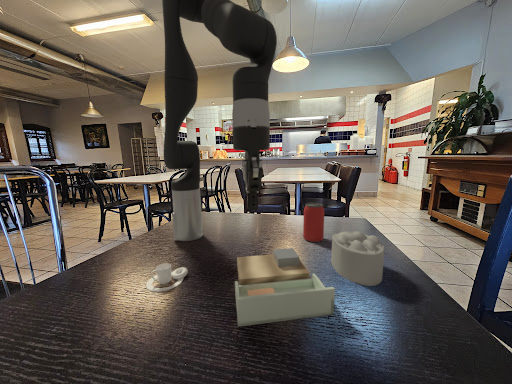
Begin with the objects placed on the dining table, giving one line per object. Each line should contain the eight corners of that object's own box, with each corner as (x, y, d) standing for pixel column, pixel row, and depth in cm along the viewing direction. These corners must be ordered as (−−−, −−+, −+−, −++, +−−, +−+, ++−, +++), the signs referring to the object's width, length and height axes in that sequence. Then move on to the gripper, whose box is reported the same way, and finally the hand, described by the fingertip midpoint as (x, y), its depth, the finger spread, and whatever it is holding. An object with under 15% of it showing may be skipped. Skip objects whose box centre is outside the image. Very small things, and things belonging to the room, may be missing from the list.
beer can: (324, 243, 69) (325, 206, 67) (303, 242, 71) (304, 206, 69) (322, 235, 76) (323, 202, 74) (303, 234, 77) (303, 201, 75)
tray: (237, 326, 36) (236, 299, 35) (235, 294, 44) (234, 272, 44) (333, 314, 38) (335, 288, 38) (314, 286, 47) (314, 264, 46)
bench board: (240, 292, 45) (239, 279, 44) (237, 268, 55) (236, 257, 54) (308, 285, 47) (309, 272, 47) (294, 263, 57) (294, 252, 56)
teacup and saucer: (189, 271, 54) (188, 256, 54) (184, 290, 47) (183, 273, 46) (152, 275, 53) (150, 259, 52) (140, 295, 45) (138, 277, 45)
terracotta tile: (247, 290, 41) (247, 299, 42) (250, 308, 37) (251, 318, 37) (272, 287, 42) (272, 296, 43) (279, 304, 37) (279, 315, 38)
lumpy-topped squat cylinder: (365, 257, 59) (367, 227, 58) (395, 285, 47) (398, 247, 45) (327, 258, 59) (328, 228, 58) (346, 286, 47) (348, 248, 45)
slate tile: (278, 267, 49) (278, 258, 49) (273, 257, 54) (273, 249, 54) (299, 265, 50) (299, 257, 50) (292, 255, 55) (292, 247, 54)
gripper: (231, 129, 50) (233, 203, 53) (233, 121, 37) (236, 219, 40) (263, 130, 51) (264, 202, 54) (277, 121, 38) (276, 217, 41)
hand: (252, 209), depth 47 cm, fingers closed
